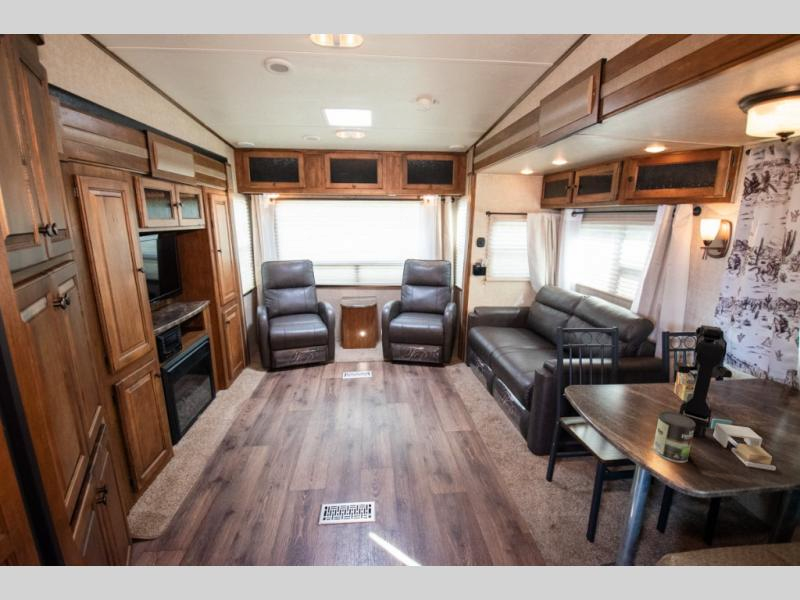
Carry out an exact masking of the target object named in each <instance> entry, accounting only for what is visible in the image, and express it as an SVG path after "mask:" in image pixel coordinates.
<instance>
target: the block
mask: <svg viewBox="0 0 800 600" xmlns="http://www.w3.org/2000/svg"><path fill="white" fill-rule="evenodd" d="M736 453H737V454H738V455H739V456H740V457H741V458H742V459H743V460H744V461H745V462H746V461H747V462H753V463H760V464H766V465H772V464H771V463H772V460H773V456H772V455H770V453H768V452H767V451H766V450H765V449H764V448H763V447H761V446H754V445H748V444H747V443H738V448H737V452H736Z"/></svg>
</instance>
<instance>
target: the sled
mask: <svg viewBox="0 0 800 600" xmlns="http://www.w3.org/2000/svg"><path fill="white" fill-rule="evenodd" d="M710 423H711V424H710V426H709V427H710V429H711V430H715V425H716V423H718V424H726V425H733V421H732V420H730V419H723V418H722V419H721V418H711V421H710ZM728 442H730V444H732V445H733V446H734V447H731V452H732V453H733V454H734V455H735V456H736V457H737V458H738V460H740V461H741V462H742V463H743V464H744V465H745V466H746V467H750V468H756V469H762V470H763V469H764V470H769V471H776V470H777V467H776V466H775V465H773V464H770V465H766V464H760V463H753V462H747V461H746V462H745V461H744V460H743V459H742V458H741V457H740V456H739V455H738V454H737V453H736V452H737V448H738V444H739V443H738V442H737V441H735V440H734V439H733V438H732V436H729V438H728Z"/></svg>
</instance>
